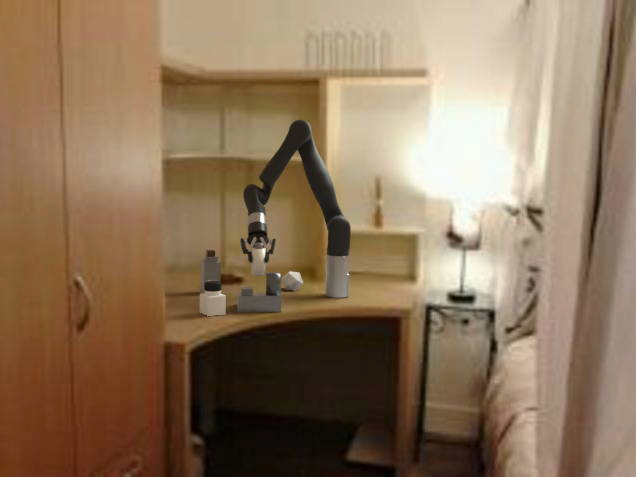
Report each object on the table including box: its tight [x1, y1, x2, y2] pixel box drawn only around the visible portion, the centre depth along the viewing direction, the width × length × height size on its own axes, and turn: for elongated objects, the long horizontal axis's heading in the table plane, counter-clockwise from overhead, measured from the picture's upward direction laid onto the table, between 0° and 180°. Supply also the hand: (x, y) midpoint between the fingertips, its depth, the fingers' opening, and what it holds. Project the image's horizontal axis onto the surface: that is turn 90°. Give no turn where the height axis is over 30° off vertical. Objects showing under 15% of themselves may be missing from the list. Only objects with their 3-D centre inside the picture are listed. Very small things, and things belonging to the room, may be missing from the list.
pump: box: [250, 243, 266, 277], centre depth 246 cm, size 5×5×12 cm
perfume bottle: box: [200, 249, 222, 294], centre depth 268 cm, size 7×7×18 cm
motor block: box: [236, 271, 283, 313], centre depth 244 cm, size 16×13×14 cm
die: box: [281, 270, 304, 292], centre depth 281 cm, size 8×9×10 cm
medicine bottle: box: [199, 280, 227, 317], centre depth 233 cm, size 7×7×12 cm
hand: (258, 261), depth 245 cm, fingers closed on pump, 5 cm apart
